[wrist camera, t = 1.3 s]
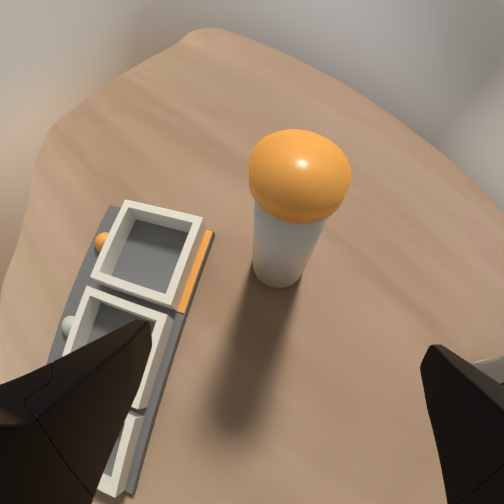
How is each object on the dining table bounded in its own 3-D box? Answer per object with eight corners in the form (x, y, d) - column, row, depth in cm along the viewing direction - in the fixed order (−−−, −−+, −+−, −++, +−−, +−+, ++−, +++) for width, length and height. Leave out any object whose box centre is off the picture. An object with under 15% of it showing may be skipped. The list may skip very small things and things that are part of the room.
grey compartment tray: (135, 491, 17) (122, 502, 14) (35, 435, 18) (16, 437, 15) (214, 235, 25) (211, 218, 23) (112, 209, 26) (101, 193, 24)
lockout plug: (300, 298, 23) (345, 222, 12) (241, 283, 24) (235, 194, 13) (312, 244, 25) (354, 143, 14) (257, 230, 25) (263, 121, 14)
